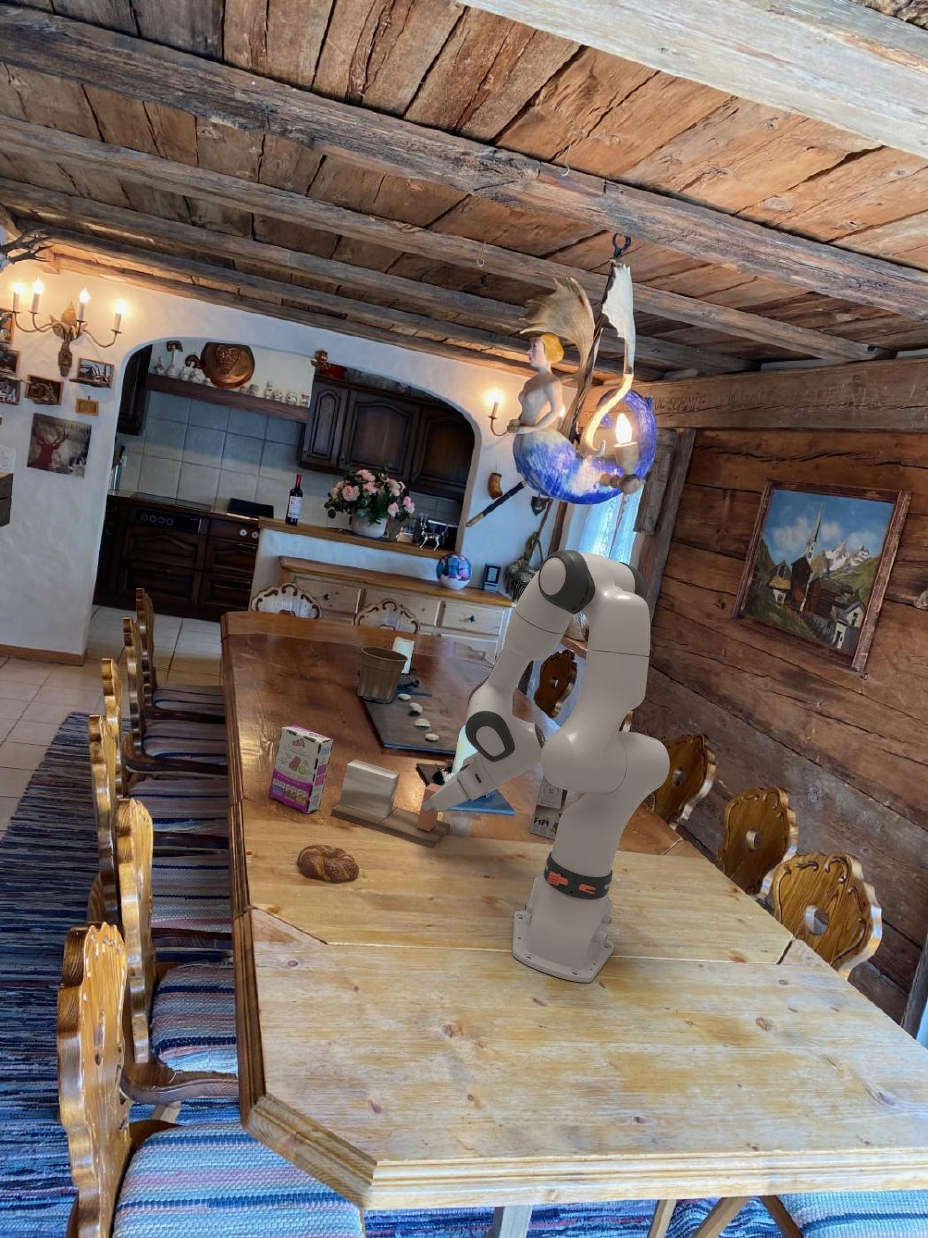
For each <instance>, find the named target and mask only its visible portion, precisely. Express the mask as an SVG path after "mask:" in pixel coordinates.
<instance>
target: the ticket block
mask: <svg viewBox="0 0 928 1238" xmlns="http://www.w3.org/2000/svg"><path fill="white" fill-rule="evenodd" d="M400 775H401V773H400V772H397V771H394V770H391V769H387V768H385V767H382V766H381V767H380V766H377V765H375V764H372V763H368V762H365V761H362V760H361V761H360V760H358V759H353V760H352V761H350V762H349V763H347V764H346V769H345V773H344V779H343V783H342V788H341V792H340V798H339V802H338V804H337V805H336V806H335V805H334V807H333V808H332V809H331V813H330V816H332V817H335V818H338V819H341V820H343V821H347V822H351V823H353V824H357V825H359V826H362V827H365V828H369V829H371V830H374V831H377V832H381V833H383V834H384V833H385V834H387V833H388V834H387V835H390V836H393V837H396V838H400V839H402V840H405V841H409V842H411V843H415V844H417V845H420V846H423V847H427V848H430V849H433V850H434V849H435V848H436V847H437V846H438V845H439V843H440V842H441V841H442V839H443V838H444V837H445V836H446V835H447V834H448V833H449V832H450V830H451V823H448V822H444V821H442V820H439V819H437V821H436V825H435V826H434V827H433V828H432V829H431V830H430V832H429V831H426V830H423V829H420V828H417V823H418V819H419V814H420V813H416V812H414V811H410V810H407V809H403V808H400V807H398V806H394V803H395V798H396V794H397V790H398V786H399V785H398V784H399V781H400V780H399V779H400Z"/></svg>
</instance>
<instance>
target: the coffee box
mask: <svg viewBox="0 0 928 1238" xmlns="http://www.w3.org/2000/svg"><path fill="white" fill-rule="evenodd" d="M568 792H569V791H568V790H564V789H561V788H558V787H554V786H552V785H551V784H550V783H549V782H548V781H547V780H546V778H545V776H544V774H543V776H542V781H541V785H540V788H539V792H538V797H537V800H536V804H535V809H534V813H533V817H532V820H531V821H532V822H531V826H530V830H529V832H530V834H533V835H537V836H541V837H545V838H547V839H551V840H555V836H556V832H557V828H558V824H559V820H560V817H561V815H562V814H563V812H564V808H565V803H566V800H567V795H568Z"/></svg>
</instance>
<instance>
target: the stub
mask: <svg viewBox="0 0 928 1238" xmlns="http://www.w3.org/2000/svg"><path fill="white" fill-rule="evenodd" d="M442 786H443V785H439V784H436V783H432V782H431V783H430V784H428V785H427V786H426V787H425V788H424V793H423V796H422V797H423V798H422V802H421V806H420V810H419V813H418V814H419V819H418V823H417V828H420V829H423V830H426V831H429V832H430V830H431V829H432V828H433V827H434V826H435V825H436V821H437V820H438V815H439V812H437V811H436V810H435V808H431V809H429V810H428V811H425V810H424V808H423V807H422V804H423V803H424V802H425V801H427V800H429V799H430V797H431V796H433V795H434V794H435V793H436V792H437V791H438V790H439V789H440V788H441V787H442Z"/></svg>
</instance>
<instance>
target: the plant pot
mask: <svg viewBox="0 0 928 1238" xmlns="http://www.w3.org/2000/svg"><path fill="white" fill-rule="evenodd" d="M360 651H361V655H360V669H359V670H360V671H359V679H358V687H357V693H356V694H357V696H358V697H359V696H372V697H375V698H382V699H391V698H393V697H395V694H396V692H397V688H398V685H399V681H400V678H401V676H402V672H403V671H404V669H405V666H406V663H407V662H408V661H409V657H408V656H407V655H406V654H403V653H401V652H399V651H396V650H392V649H389V648H384V647H379V646H362V647H361V648H360ZM393 699H394V698H393Z"/></svg>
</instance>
